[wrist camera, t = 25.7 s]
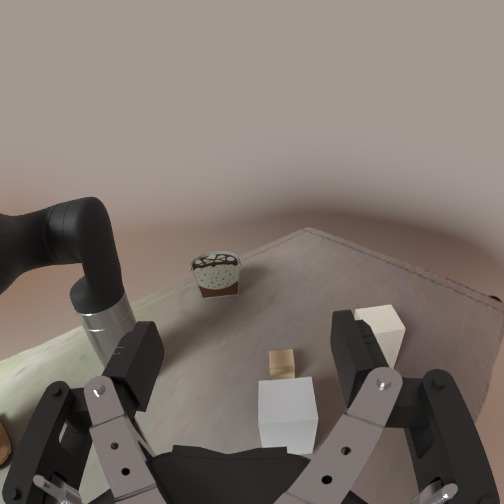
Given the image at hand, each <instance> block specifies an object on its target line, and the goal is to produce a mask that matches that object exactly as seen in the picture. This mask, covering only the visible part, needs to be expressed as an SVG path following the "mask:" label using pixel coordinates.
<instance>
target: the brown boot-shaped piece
mask: <svg viewBox="0 0 504 504" xmlns="http://www.w3.org/2000/svg"><path fill="white" fill-rule="evenodd" d="M10 453H11V444H10V441H9V439H8V436H7V434H6V432H5V430H4V428H3V426H2V424H1V422H0V465H2V464H3V463H4V462H5V461H6V460H7V458H8V456H9V454H10Z"/></svg>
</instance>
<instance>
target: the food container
mask: <svg viewBox="0 0 504 504" xmlns="http://www.w3.org/2000/svg"><path fill="white" fill-rule="evenodd" d="M239 263H240V265H241V262H240V259H239V258H238V256H237V255H236V254H234V253H232V252H227V251H216V252H209V253H205V254H203V255H200V256H198V257H196V258H195V259H194V260H193V261H192V262H191V266H190V271H191V270H193V274H194V277H195V280H196V283H197V286H198V288H199V291H200V294H201V297H202V299H208V298H218V297H227V296H236V295H239ZM241 266H242V265H241Z"/></svg>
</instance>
